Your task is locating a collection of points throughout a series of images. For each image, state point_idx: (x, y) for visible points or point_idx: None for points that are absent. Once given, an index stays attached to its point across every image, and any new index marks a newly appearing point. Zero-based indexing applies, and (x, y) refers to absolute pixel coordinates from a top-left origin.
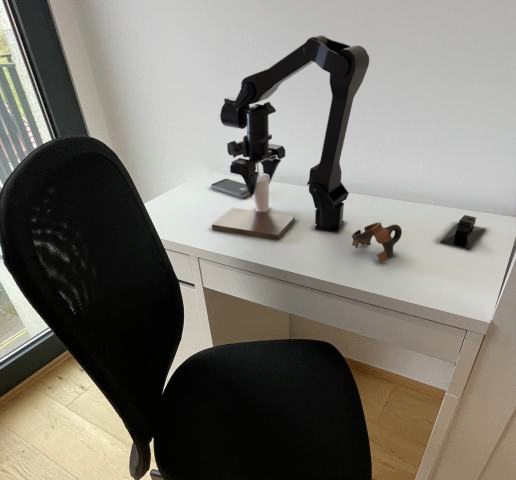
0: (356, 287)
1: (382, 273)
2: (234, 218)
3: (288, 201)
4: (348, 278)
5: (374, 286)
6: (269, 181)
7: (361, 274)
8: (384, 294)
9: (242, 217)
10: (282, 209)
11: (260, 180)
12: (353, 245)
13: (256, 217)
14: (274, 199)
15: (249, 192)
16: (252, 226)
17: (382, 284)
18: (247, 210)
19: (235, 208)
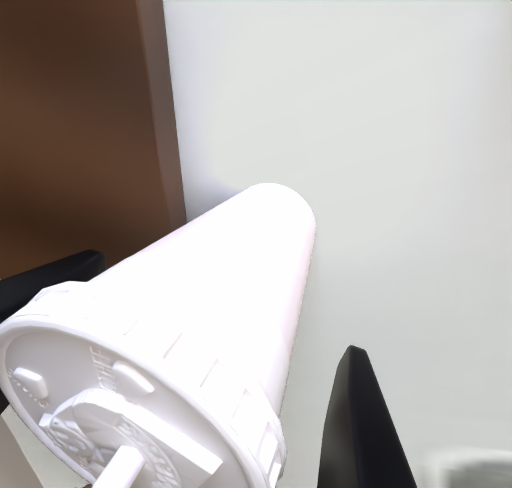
0: (18, 442)
1: (77, 477)
2: (9, 119)
3: (455, 351)
4: (29, 438)
5: (39, 460)
6: (328, 432)
7: (54, 455)
8: (31, 464)
9: (50, 167)
10: (316, 327)
11: (69, 446)
12: (86, 486)
13: (98, 247)
14: (505, 265)
15: (72, 258)
16: (16, 251)
17: (51, 469)
18: (147, 163)
19: (132, 38)
